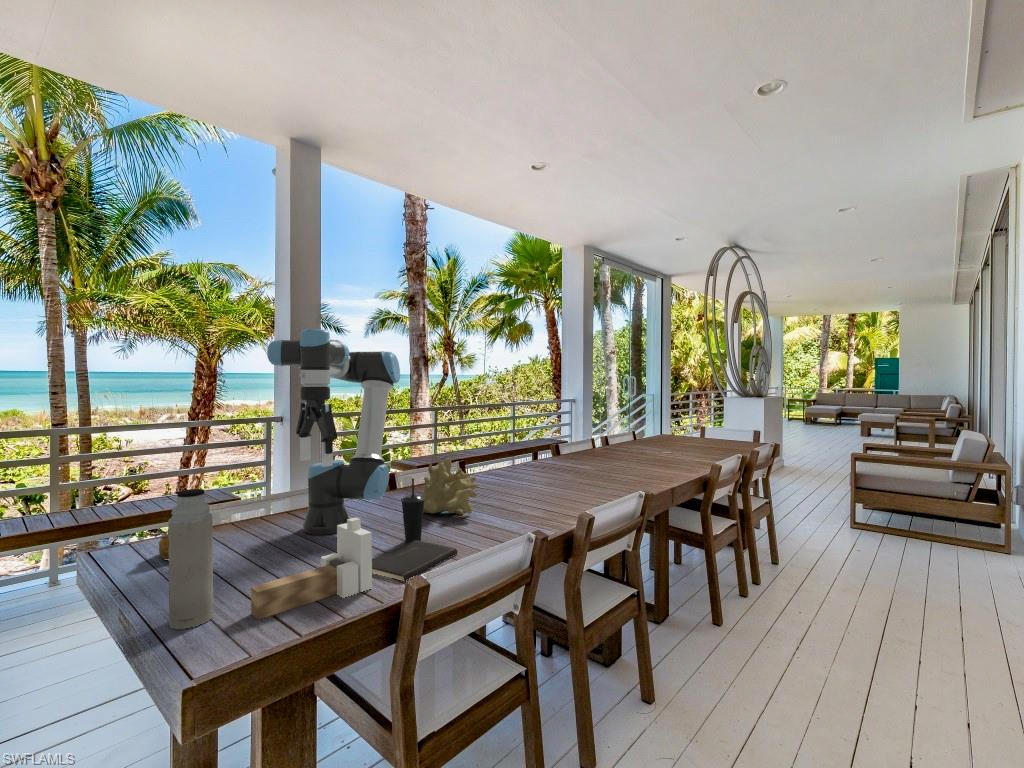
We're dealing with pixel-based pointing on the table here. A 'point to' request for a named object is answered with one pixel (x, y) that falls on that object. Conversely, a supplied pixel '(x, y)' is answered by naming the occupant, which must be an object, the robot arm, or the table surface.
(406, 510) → the drinking cup
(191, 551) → the thermos bottle
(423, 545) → the hardcover book
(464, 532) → the table surface
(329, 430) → the robot arm
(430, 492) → the decorative coral
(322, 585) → the tan piece
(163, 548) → the bread roll
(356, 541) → the white block with nub
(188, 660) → the table surface
